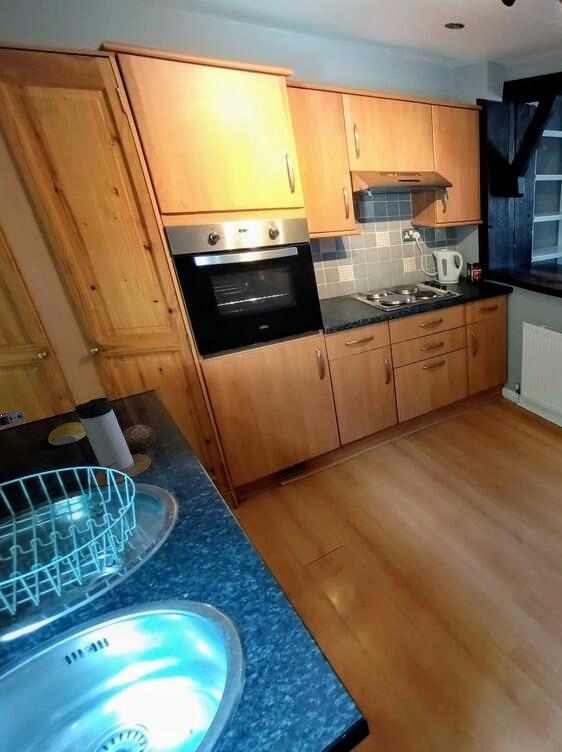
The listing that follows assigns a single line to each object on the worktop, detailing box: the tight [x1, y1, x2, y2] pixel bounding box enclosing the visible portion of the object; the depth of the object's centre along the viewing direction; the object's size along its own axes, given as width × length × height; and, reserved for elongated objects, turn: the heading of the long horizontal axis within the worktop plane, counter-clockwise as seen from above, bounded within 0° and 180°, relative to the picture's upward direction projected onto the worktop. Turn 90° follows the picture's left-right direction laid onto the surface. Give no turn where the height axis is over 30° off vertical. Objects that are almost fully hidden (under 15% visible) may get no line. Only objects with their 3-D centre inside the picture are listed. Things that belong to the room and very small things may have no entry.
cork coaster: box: [86, 453, 152, 487], centre depth 117 cm, size 13×13×1 cm
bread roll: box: [47, 421, 86, 446], centre depth 130 cm, size 8×9×4 cm
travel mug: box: [74, 397, 134, 475], centre depth 113 cm, size 6×7×20 cm
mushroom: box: [122, 424, 158, 451], centre depth 126 cm, size 8×8×6 cm
